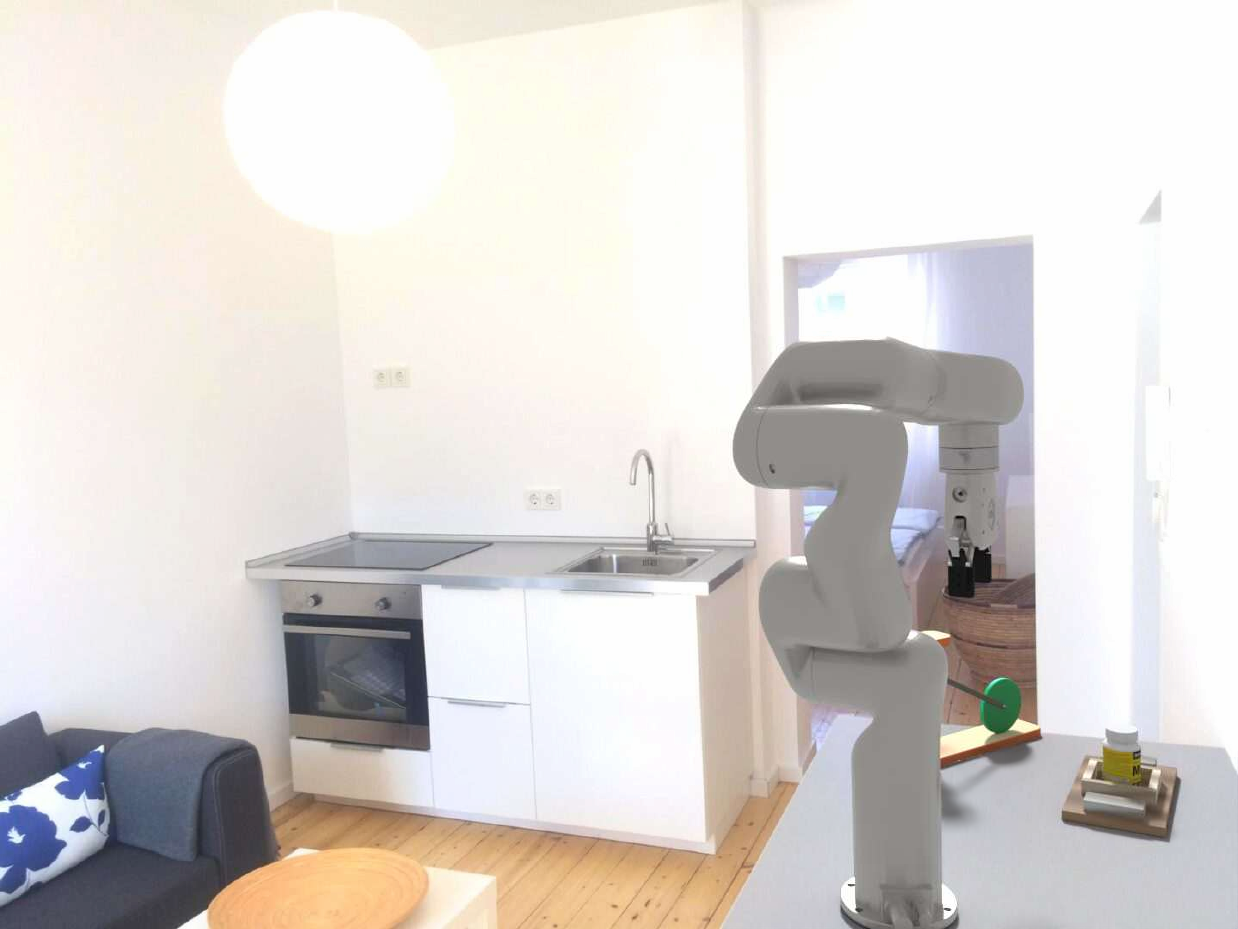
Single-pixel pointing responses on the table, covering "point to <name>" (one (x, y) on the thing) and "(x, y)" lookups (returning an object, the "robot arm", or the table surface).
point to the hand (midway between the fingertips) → (970, 589)
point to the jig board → (1120, 823)
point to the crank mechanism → (987, 719)
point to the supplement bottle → (1122, 755)
